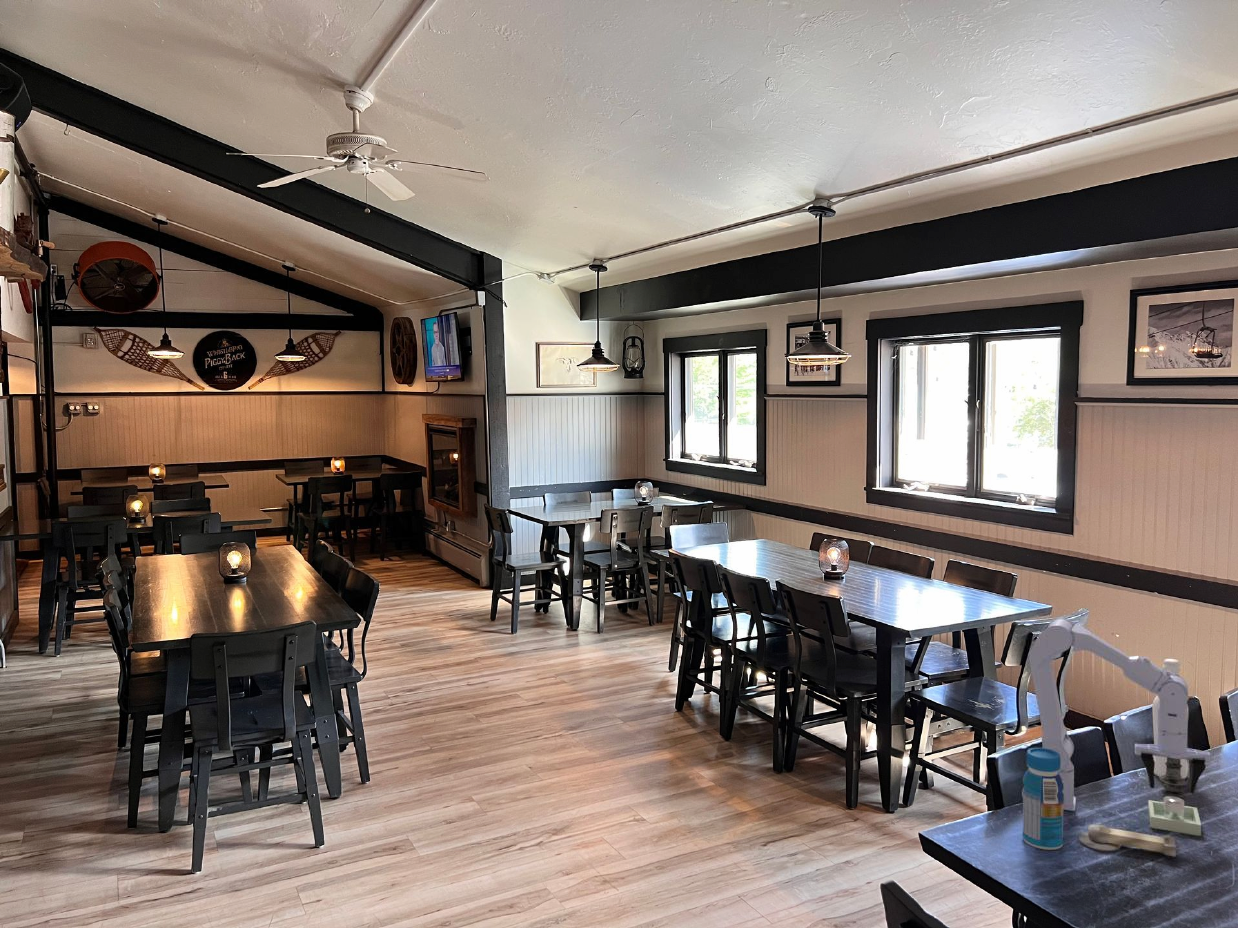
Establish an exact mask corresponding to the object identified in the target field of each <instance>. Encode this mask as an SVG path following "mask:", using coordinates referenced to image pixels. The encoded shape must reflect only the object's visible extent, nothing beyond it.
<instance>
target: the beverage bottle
mask: <svg viewBox="0 0 1238 928" xmlns="http://www.w3.org/2000/svg"><path fill="white" fill-rule="evenodd" d="M1026 751H1027V752H1026V760H1025V762H1026V767H1028V769H1027V770H1026V771H1025V773H1024V775H1023V777H1022V784H1023V787H1022V790H1021V797H1022V805H1023V806H1022V807H1023V808H1022V812H1023V813H1022V814H1023V815H1022V817H1023V818H1022V819H1023V820H1022V822H1023V823H1022V832H1021V833H1022V839H1023V841H1024V842H1025V843H1026V844H1027V845H1029V846H1031V847H1034V848H1036V849H1039V850H1045V851H1053V850H1059V849H1061V848H1062V847H1063V845H1064V809H1063V804H1064V802H1065V797H1064V794H1063V792H1062V791H1063V789H1064V783H1063V780H1062V778H1061V776H1060V775H1059V773H1058V771H1059V770H1060V765H1061V758H1060V754H1059V753H1057V752H1056V751H1053V750H1050V749H1046V748H1042V747H1031V748H1028V749H1027V750H1026Z"/></svg>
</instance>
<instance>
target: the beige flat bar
mask: <svg viewBox="0 0 1238 928" xmlns="http://www.w3.org/2000/svg"><path fill="white" fill-rule="evenodd" d="M1087 829H1088V830H1087V831H1088V837H1089V838H1090V839H1091V840H1093V841H1096V842H1100V843H1113V844H1119V845H1120V846H1126V847H1130V848H1136V849H1143V850H1146V851H1147V850H1148V851H1153V852H1159V853H1163V854H1164V856H1170V857H1177V855H1176V852H1177V850H1176V849H1177V848H1176V842H1175V837H1174V836H1170V835H1162V836H1158V835H1152V834H1147V833H1140V832H1135V831H1129V830H1123V829H1117V828H1113V827H1112V828H1111V827H1107V826H1105V825H1102V824H1089V825H1088V827H1087Z"/></svg>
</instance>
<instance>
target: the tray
mask: <svg viewBox="0 0 1238 928" xmlns="http://www.w3.org/2000/svg"><path fill="white" fill-rule="evenodd" d="M1147 803H1148V805H1147V807H1148V808H1147V811H1148V817H1149V820H1148V821H1149V825H1150V827H1149V828H1152V829H1158V830H1164V831H1169V832H1173V833H1174V832H1175V833H1179V834H1181V833H1182V834H1186V835H1191V836H1193V835H1194V836H1199V837H1202V824H1201V819H1200V815H1199V811H1198V807H1193V806H1189V805H1184V821H1182V820H1176V819H1170V818H1164V801H1156V800H1151V799H1148V801H1147Z"/></svg>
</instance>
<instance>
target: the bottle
mask: <svg viewBox="0 0 1238 928" xmlns="http://www.w3.org/2000/svg"><path fill="white" fill-rule="evenodd" d="M1180 665H1181V663H1180V662H1179V660H1177V659H1174V658H1166V659H1164V660H1163V665H1162V668H1161V669H1163V670H1164V671H1167V670H1168V671H1170V672H1171V673H1172V674H1177V675H1179V676H1180V670H1181V669H1180ZM1152 701H1153V702H1152V708H1151V709H1152V710H1151V711H1152V726H1153V728H1152V729H1153V744H1157V739H1158V708H1159V706H1160V699H1159V698H1158V695H1157V694H1156V696H1155V697H1154V699H1153V700H1152ZM1186 710H1187V712H1188V713H1189V706H1188V704H1187V709H1186ZM1153 757H1154V762H1155V766H1154V776H1157V777H1160V776H1162V775H1165V774H1166V764H1165V763H1166V762H1167V757H1160V756H1153ZM1180 764H1181V765H1182V767H1181V777H1182V778H1183V779H1185V780H1186V778H1187V776H1188V773H1189V770H1188V769H1189V762H1188V761H1187V760H1186V759H1180Z"/></svg>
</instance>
